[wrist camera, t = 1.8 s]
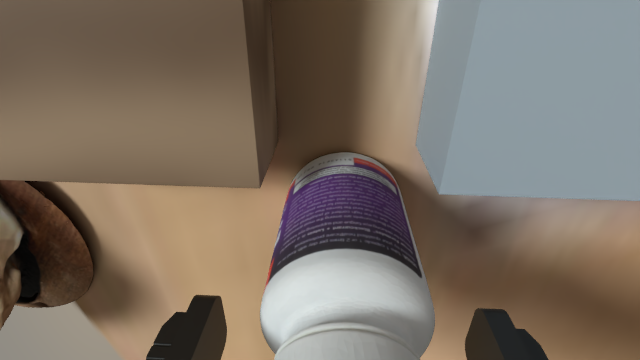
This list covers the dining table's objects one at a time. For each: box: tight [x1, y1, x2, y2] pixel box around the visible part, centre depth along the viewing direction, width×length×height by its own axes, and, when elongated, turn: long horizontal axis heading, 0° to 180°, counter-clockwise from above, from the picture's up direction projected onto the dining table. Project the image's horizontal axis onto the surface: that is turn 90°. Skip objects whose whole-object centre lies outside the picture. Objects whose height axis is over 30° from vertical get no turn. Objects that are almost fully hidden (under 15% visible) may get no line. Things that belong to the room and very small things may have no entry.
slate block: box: [416, 0, 640, 201], centre depth 10 cm, size 10×10×4 cm
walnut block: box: [0, 0, 278, 188], centre depth 11 cm, size 10×10×4 cm
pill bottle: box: [260, 152, 435, 360], centre depth 12 cm, size 5×5×10 cm
